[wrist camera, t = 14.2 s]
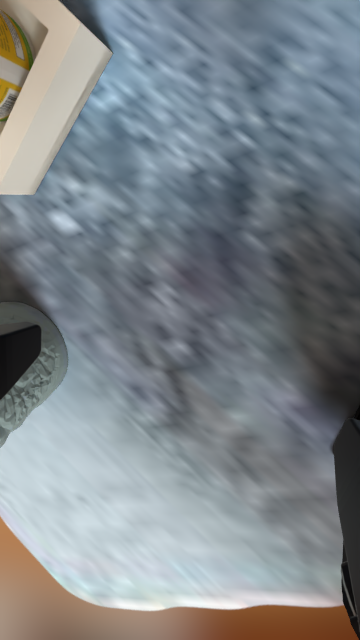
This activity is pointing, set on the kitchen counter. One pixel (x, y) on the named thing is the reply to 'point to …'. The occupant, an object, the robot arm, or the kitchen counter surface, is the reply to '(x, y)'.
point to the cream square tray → (47, 91)
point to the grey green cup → (32, 368)
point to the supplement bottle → (13, 62)
